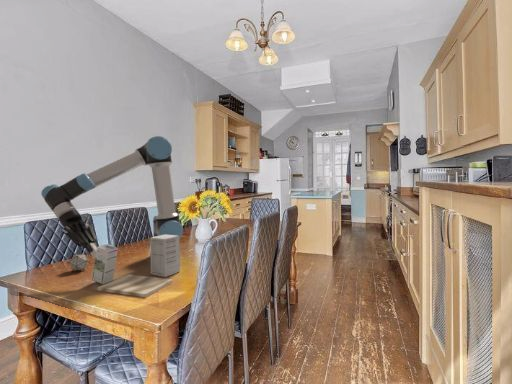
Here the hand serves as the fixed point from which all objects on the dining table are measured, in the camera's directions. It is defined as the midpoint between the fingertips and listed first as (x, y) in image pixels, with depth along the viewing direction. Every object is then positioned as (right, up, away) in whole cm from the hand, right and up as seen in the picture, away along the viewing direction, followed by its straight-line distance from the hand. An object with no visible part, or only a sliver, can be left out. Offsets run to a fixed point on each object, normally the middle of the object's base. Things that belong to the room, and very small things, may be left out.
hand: (98, 256), depth 114 cm
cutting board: (+18, -11, -5) cm, 21 cm away
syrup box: (+2, -10, 0) cm, 10 cm away
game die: (-18, -10, +15) cm, 25 cm away
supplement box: (+24, -10, +12) cm, 29 cm away
